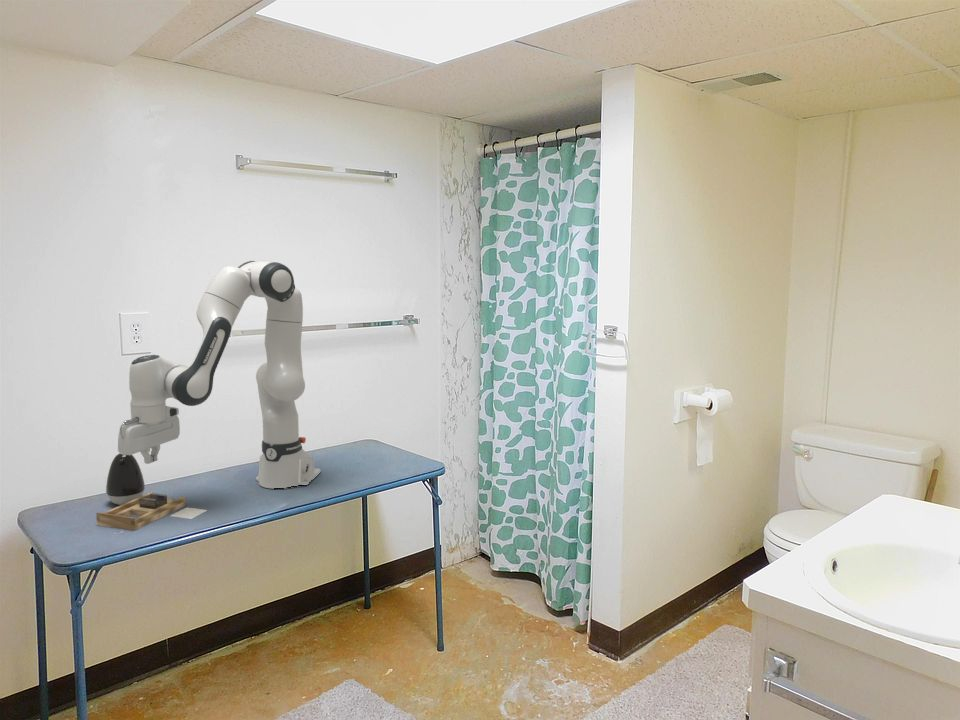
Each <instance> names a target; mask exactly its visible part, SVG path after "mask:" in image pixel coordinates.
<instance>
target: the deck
mask: <svg viewBox="0 0 960 720" xmlns="http://www.w3.org/2000/svg"><path fill="white" fill-rule="evenodd" d="M151 493H154V491H153V492H152V491H150V492H148V493H145V494H143V495H142V496H141V497H139V498H136V499H134V500H132V501H130V502H127V503H125V504H123V505H118V506H116V507H114V508H112V509H108V510H107V511H105V512H96V513H95V514H96V516H95V517H96V525H97V526H101V527H108V528H113V529H114V528H115V529H122V530H128V531H136V530H138V529H140V528H143V527H145V526H148V525H149V524H150V523H153V522H155V521H156V520H160V519H161V518H162V517H165V516H166V515H169V514H172V513H173V512H175V511H177V510H179V509H181V508H183V507H185V506H186V505H187V503H186V502H187V501H186V499H187V498H186V496H185V495H184V496H182V495H181V497H178V498H168V497H167V504H165V505H163V506H160V507H158V508H156V509H149V508H142V507H140V502H139V499H140V498H150V494H151ZM130 515H136V516H138V517H132V516H130Z"/></svg>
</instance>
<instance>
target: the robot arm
mask: <svg viewBox="0 0 960 720" xmlns="http://www.w3.org/2000/svg"><path fill="white" fill-rule="evenodd" d="M250 296H255V297H259V298H264V300H265V301H266V305H267V310H266V311H267V312H266V319H265V320H266V321H265V334H264V347H265V351H266V352H265V354H266V362H264V363H263V364H261V365H260V366H259V367H258V369H257V370H256V373H255V379H256V384H257V390H258V392H257V393H258V398H259V404H260V409H261V417H262V440H261V455H260V456H259V462H258V463H259V464H258V475H257V476H256V477H255V481H257V482H258V485H259V486H261V487H262V488H266V489H274V488H284V489H287V488H286V487H291V486H295V485H302V484H307V483H309V482H310V481H311V480H312V479H313V478H314V477H315V476H316V475H317V474H318V473H319V472H320V470H321V469H320V468H319V467H315V466H314V465H315V464H314V458H313V456H312V455H311V454H310V453H309V452H307V451H305V450H304V449H303V446H302V444H305V443H306V441H307V438H306V437H305V436H302V437H301V436H300V435H299V431H300V430H299V413H298V411H297V408H296V403H295V401H296V400H298V399H299V398H300V397H301V396H302V395H303V394H304V392H305V389H306V382H305V378H304V375H303V374H304V371H303V359H302V334H303V333H302V331H303V322H304V320H303V318H304V311H303V310H304V307H303V297H302V292H301V291H300V290H299V289H298V288H297V287H296V285H295V279H294V275H293V273H292V271H291V269H290V268H289V266H286V265H285V264H284V263H281V262H275V261H274V262H273V261H271V260H259V261H258V260H257V261H255V260H249V261H246V262H243V263H242V264H240V265H238V266H234V265H233V266H232V265H227V266H224V267H222V268H221V269H219V271H218V272H217V273H216V275H215V276H214V278H213V279H212V280H211V281H210V283H209V284H208V286H207V287H206V289H205V291H204V293H203V294H202V297H201V298H200V300H199V303H198V306H197V310H196V313H195V314H196V318H197V321H198V322H199V324H200V325H201V328H202V331H203V334H202V335H203V337H202V340H201V342H200V345H199V347H198V349H197V351H196V354H195V356H194V358H193V361H192V363H191V364H190V365H189V366H186V365H183V364H181V363H176V362H172V361H171V360H170V361H169V360H167V359H165V358H163V357H161V356H160V355H159V354H158V355H157V354H150V355H149V354H148V355H147V354H146V355H143V356H142V355H141V356H139V357H137V358H136V359H133V360H132V362H131V363H130V367H129V375H128V378H129V379H128V380H129V382H128V383H129V386H128V387H129V392H130V395H131V396H130V397H131V399H130V404H129V405H130V419H127V420H123V422H122V423H121V425H120V426H119V431H118V437H117V452H118V454H119V453H120V454H122V455H134V454H138V453H140V455H142V457H143V463H144V464H146V465H148V464H149V465H150V464H151V463H154V462H157V461H158V460H159V459H158V455H159V453H160V449H161V445H163V444H165V443H168V442H171V441H174V440H177V439H179V436H180V433H181V431H180V430H181V429H180V427H181V426H180V419H179V417H178V415H179V413H180V411H179V410H180V409H179V407H173V406H169V405H166V404H167V403H166V400H167V399H172V398H173V399H174V400H176V401H178V402H179V403H181V404H182V405H185V406H188V407H189V406H190V407H195V406H199V405H202V404H203V403H204V402H206V401H207V400H208V398H210V397H211V396H210V395H211V394H212V391H213V387H214V385H213V384H214V376H215V374H216V373H215V372H216V370H217V368H218V366H219V365H218V364H219V362H220V360H221V358H222V356H223V353H224V351H225V349H226V346H227V345H228V344H227V343H228V342H229V339H230V335H231V332H232V329H233V326H234V324H235V321H236V319H237V318H238V316H239V314H240V312H241V310H242V308H243V306H244V303H245V302H246V300H247V299H248V298H249V297H250ZM314 468H317V469H314ZM291 488H292V487H291Z"/></svg>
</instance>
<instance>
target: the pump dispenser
mask: <svg viewBox="0 0 960 720" xmlns="http://www.w3.org/2000/svg"><path fill="white" fill-rule="evenodd" d="M145 486H146V484H145V480H144V475H143V472H142V470H141V467H140V464H139V462H138V460H137V459H136V457H135V456H134V454H132V455H122V454H120V453H119V452H118V453H117V454H116V455H115V457H114V458H113V459H112V462H111V464H110V467H109V470H108V474H107V478H106V487H105V493H106V496H108V499H109V500H110V502H112V503H113V504H114V505H118V506H120V505H123V504H125V503H127V502H130V501H132V500H134V499H136V498H139V497H141V496H143V495H144V491H145V489H146V487H145Z"/></svg>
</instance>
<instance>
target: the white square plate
mask: <svg viewBox="0 0 960 720" xmlns="http://www.w3.org/2000/svg"><path fill="white" fill-rule="evenodd" d="M205 512H208V509H200V508H194V507H185V508H183V509H181V510H179V511H176V512H174V513H173V514H171V515H170V517H174V518H180V519H181V518H182V519H187V520H188V519H189V520H192V519H195V518H196V517H198V516H200V515H201V514H204V513H205Z"/></svg>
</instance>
